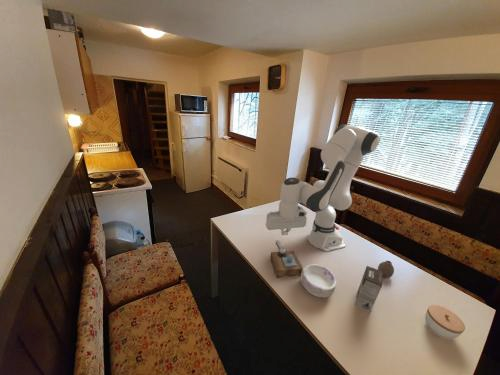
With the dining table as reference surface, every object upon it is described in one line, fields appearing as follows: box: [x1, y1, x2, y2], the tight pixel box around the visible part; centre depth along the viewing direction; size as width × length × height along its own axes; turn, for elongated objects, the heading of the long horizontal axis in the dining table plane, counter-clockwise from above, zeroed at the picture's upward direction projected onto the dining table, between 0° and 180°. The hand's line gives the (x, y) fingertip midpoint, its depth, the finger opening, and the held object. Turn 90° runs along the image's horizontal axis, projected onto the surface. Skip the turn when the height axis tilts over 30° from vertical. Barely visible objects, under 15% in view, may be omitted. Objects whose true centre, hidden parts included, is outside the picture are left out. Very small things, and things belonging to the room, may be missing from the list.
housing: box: [269, 250, 303, 279], centre depth 106 cm, size 13×13×5 cm
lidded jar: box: [424, 304, 466, 340], centre depth 79 cm, size 11×11×9 cm
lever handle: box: [275, 239, 287, 256], centre depth 111 cm, size 10×3×3 cm, turn 15°
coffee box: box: [355, 265, 384, 313], centre depth 88 cm, size 9×6×16 cm
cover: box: [282, 254, 297, 267], centre depth 103 cm, size 6×6×4 cm
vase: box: [377, 260, 395, 279], centre depth 104 cm, size 7×7×9 cm
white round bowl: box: [300, 263, 338, 298], centre depth 95 cm, size 15×15×8 cm
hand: (284, 234), depth 102 cm, fingers closed
